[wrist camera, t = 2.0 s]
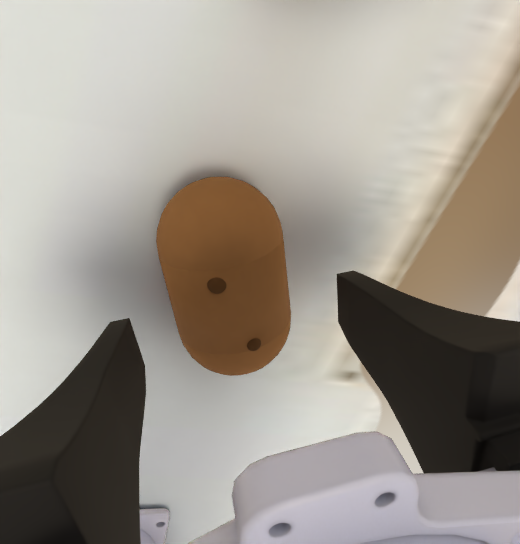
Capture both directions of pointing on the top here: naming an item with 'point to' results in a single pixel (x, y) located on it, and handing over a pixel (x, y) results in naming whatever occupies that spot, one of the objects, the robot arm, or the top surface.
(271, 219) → the potato
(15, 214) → the top surface
